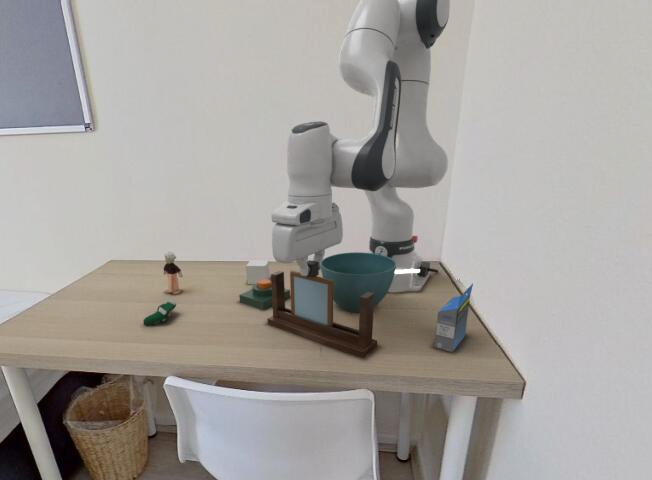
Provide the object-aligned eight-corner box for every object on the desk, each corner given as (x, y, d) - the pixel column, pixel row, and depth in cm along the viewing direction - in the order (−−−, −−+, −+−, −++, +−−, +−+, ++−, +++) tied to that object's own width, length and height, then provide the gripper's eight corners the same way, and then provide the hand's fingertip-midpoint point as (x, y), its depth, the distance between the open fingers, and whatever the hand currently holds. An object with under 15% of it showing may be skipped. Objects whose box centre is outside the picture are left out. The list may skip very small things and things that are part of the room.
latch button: (264, 284, 111) (263, 278, 110) (273, 286, 109) (273, 281, 108) (255, 288, 108) (254, 282, 108) (264, 290, 106) (264, 284, 106)
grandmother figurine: (160, 293, 118) (153, 252, 113) (168, 289, 121) (162, 249, 117) (181, 296, 115) (176, 254, 111) (189, 291, 118) (183, 250, 114)
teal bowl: (371, 329, 90) (374, 279, 86) (307, 310, 101) (306, 265, 97) (404, 303, 103) (408, 258, 98) (344, 289, 114) (344, 248, 110)
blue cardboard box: (447, 331, 88) (453, 279, 83) (465, 336, 85) (473, 282, 81) (433, 347, 81) (439, 292, 77) (453, 353, 79) (460, 296, 75)
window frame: (283, 315, 99) (281, 268, 95) (377, 346, 83) (380, 291, 78) (267, 324, 95) (264, 275, 91) (362, 358, 79) (365, 301, 74)
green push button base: (266, 290, 116) (266, 277, 115) (290, 297, 111) (289, 283, 109) (239, 302, 109) (238, 288, 107) (263, 310, 103) (262, 295, 102)
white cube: (251, 277, 128) (250, 260, 125) (270, 278, 126) (269, 260, 124) (247, 284, 122) (246, 265, 120) (266, 284, 121) (265, 265, 119)
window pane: (295, 317, 94) (294, 256, 89) (335, 329, 87) (335, 265, 82) (289, 320, 92) (287, 259, 87) (328, 334, 85) (329, 268, 80)
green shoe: (152, 333, 98) (165, 318, 95) (140, 322, 97) (153, 307, 95) (168, 317, 106) (181, 303, 104) (157, 307, 106) (170, 293, 103)
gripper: (326, 200, 89) (326, 258, 94) (265, 215, 75) (268, 282, 80) (350, 201, 85) (349, 262, 90) (290, 218, 71) (292, 289, 76)
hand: (310, 272), depth 85 cm, fingers closed on window pane, 2 cm apart
